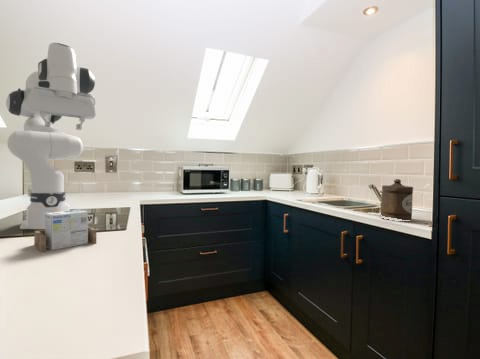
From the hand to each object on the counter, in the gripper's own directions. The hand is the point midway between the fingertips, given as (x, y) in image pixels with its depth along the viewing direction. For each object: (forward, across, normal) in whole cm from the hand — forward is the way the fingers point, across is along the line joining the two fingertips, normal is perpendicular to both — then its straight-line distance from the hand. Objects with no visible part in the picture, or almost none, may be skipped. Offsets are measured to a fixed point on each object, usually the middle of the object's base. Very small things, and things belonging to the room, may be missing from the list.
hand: (63, 128), depth 98 cm
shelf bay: (+40, +1, +7) cm, 40 cm away
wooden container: (+45, -145, +56) cm, 162 cm away
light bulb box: (+40, +1, +8) cm, 41 cm away
